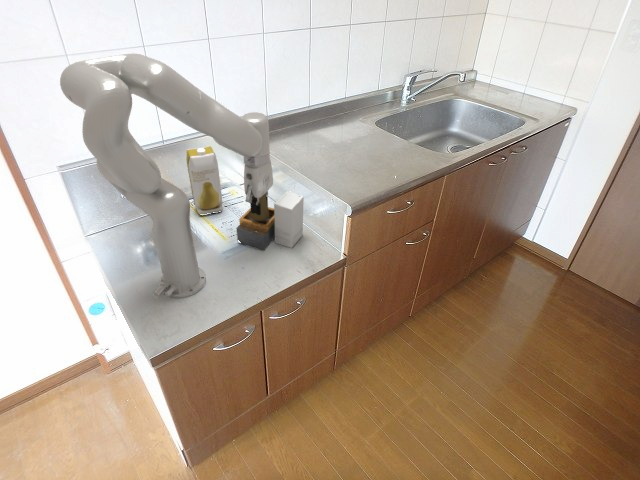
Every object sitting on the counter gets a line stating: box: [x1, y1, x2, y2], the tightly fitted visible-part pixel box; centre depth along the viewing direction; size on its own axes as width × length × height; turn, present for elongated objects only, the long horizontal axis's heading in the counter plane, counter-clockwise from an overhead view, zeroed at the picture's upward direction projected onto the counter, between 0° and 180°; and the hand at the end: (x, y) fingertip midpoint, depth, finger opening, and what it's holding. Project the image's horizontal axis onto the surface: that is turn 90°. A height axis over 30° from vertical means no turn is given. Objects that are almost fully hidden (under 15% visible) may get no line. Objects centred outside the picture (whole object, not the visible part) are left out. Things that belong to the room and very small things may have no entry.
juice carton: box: [186, 145, 223, 214], centre depth 139 cm, size 9×8×24 cm
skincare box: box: [273, 191, 305, 249], centre depth 130 cm, size 8×7×16 cm
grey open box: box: [236, 206, 275, 252], centre depth 134 cm, size 14×10×8 cm
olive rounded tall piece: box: [250, 192, 269, 221], centre depth 128 cm, size 6×6×11 cm
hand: (259, 209), depth 130 cm, fingers closed on olive rounded tall piece, 3 cm apart
